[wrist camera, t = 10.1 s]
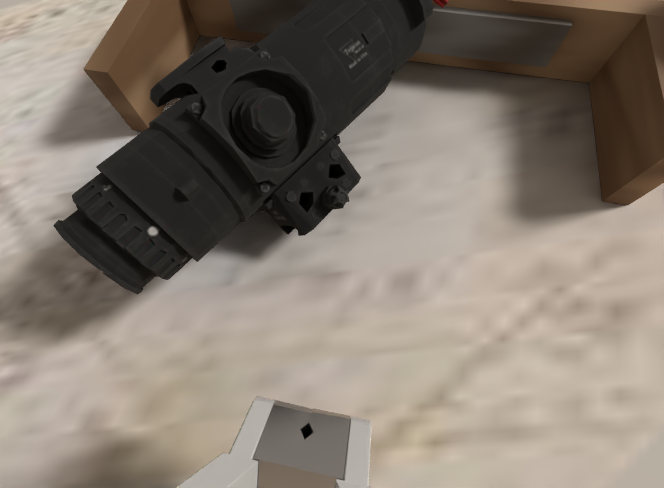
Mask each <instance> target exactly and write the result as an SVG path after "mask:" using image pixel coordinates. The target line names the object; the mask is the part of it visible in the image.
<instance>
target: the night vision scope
mask: <svg viewBox="0 0 664 488" xmlns="http://www.w3.org/2000/svg"><path fill="white" fill-rule="evenodd" d="M433 1H434V2H435V3H436V4H438V5H439V6H440V7H441V8H443V7H445V5H446V4H447V3H448V2H449V1H448V0H433ZM433 7H434V5H433V3H432V0H314V1H313V2H312V3H310V4H309V5H308V6H306V7H305V8H304V9H302V10H301V11H300V12H298V13H297V14H296V15H294V16H293V17H292V18H290V19H289V20H288V21H286V22H285V23H284V24H282V25H281V26H280V27H278V28H277V29H276V30H274V31H273V32H272V33H270V34H269V35H268V36H266V37H265V38H264V39H262V40H261V41H260V42H258V43H257V44H256V45H254V46H253V47H252V48H251V49H247V48H243V47H238V46H237V47H235V48H234V49H232V50H231V51H229V49H228V48H227V47H226V45H225V44H226V43H225V41H224V40H223V38H222V37H221V36H219V37H218V38H216V39H215V40H213V41H212V42H210V43H209V44H207V45H206V46H204V47H203V48H201V49H200V50H199V51H198V52H196V53H195V54H194V55H192V56H191V57H190V58H189V59H187V60H186V61H185V62H183V63H182V64H181V65H180V66H178V67H177V68H176V69H175V70H173V71H172V72H171V73H169V74H168V75H167V76H166V77H164V78H163V79H162V80H160V81H159V82H158V83H157V84H156V85H155V86H154V87H153V88H152V89H151V90H150V100H151V101H152V102H153V103H154V104H155V105H156V106H157V107H160V106H162V105H164V104H166V103H167V102H169V101H171V100H172V99H175V98H181V99H180V100H179V101H178V102H176V103H175V104H174V105H172V106H171V107H170V108H168V109H167V110H166V111H164V112H163V113H162V114H160V115H159V116H158V117H156V118H155V119H154V120H152V121H151V122H150V123H149V128H147V129H146V130H145V131H143V132H142V133H141V134H139V135H138V136H137V137H135V138H134V139H133V140H131V141H130V142H129V143H127V144H126V145H125V146H123V147H122V148H121V149H119V150H118V151H117V152H115V153H114V154H113V155H111V156H110V157H109V158H107V159H106V160H105V161H103V162H102V163H101V164H99V165H98V166H97V167H96V168H97V169H98V170H99V171H100V172H101V173H100V174H99V175H97V176H96V177H95V178H94V179H92V180H91V181H90V182H88V183H87V184H86V185H84V186H83V187H82V188H81V189H79V190H78V191H77V192H75V193H74V194H73V195H72V198H73V201H74V203H75V204H76V207H77V208H78V210H77V211H76V212H74V213H73V214H72V215H70V216H69V217H68V218H66V219H65V220H64V221H60V220H58V221H57V222H56V223H55V224H54V225H53V226H54V227H55V228H56V230H57V231H58V232H59V234H60V235H61V236H62V238H63V239H64V240H65V241H66V242H67V243H68V244H69V245H70V246H71V247H72V248H74V249H75V250H76V251H77V252H78V253H79V254H80V255H81V256H82V257H84V258H85V259H86V260H88V261H89V262H90V263H91V264H93V265H94V266H95V267H97V268H98V269H99V270H102V271H104V272H103V274H104V275H106V276H107V277H109V278H110V279H112V280H113V281H115V282H116V283H118V284H119V285H121V286H122V287H123V288H125V289H127V290H130V291H132V292H134V293H136V294H139V293H140V292H141V291H142V289H143V287H144V286H145V285H146V284H147V283H148V282H149V281H151V280H152V279H153V278H154V277H155V276H158V277H161V278H162V279H166V280H168V279H170V278H171V277H172V276H173V275H174V274H175V273H176V272H178V271H179V270H180V269H181V268H182V267H183V266H184V265H185V264H186V263H187V262H188V261H189V260H190V259H192V258H194V259H195V260H196V261H197V262H198V261H199V260H200V259H201V258H202V257H203V256H204V255H205V254H206V253H208V252H209V251H210V250H211V249H212V248H213V247H214V246H215V245H216V244H217V243H218V242H219V241H220V240H221V239H222V238H224V237H225V236H226V235H227V234H228V233H229V232H230V231H231V230H232V229H233V228H234V227H235V226H236V225H237V224H238V223H240V222H245V221H246V220H248V219H249V218H250V217H251V216H252V215H253V214H254V213H255V212H256V211H257V210H267V211H268V212H269V214H270V215H271V216H272V217H273V218H274V219H275V221H276V222H277V223H278V224H279V225H280V227H281V228H282V229H283V230H284V231H285V232H286V234H289V233H290V232H291V231H292V230H293V229H294V228H296V229H297V230H298V235H299V236H300V235H306V234H307V233H309V232H310V231H311V230H313V229H314V228H315V227H316V226H317V225H318V224H319V223H320V222H321V221H322V220H323V219H324V218H325V217H326V216H327V215H328V214H329V213H330V212H331V210H332V209H340V208H343V207H344V204H345V203H346V202H349V197H348V193H349V192H350V191H351V190H352V189H353V188H354V187H355V186H356V185H357V184H358V183H359V180H360V178H361V177H360V175H359V174H358V173H357V171H356V170H355V168H354V167H353V166H352V164H351V163H350V161H349V160H348V159H347V157H346V156H345V154H344V153H343V152H342V150H341V149H340V147H339V146H338V144H339V143H340V138H339V136H337V135H338V134H339V133H341V132H342V131H343V130H344V129H345V128H346V127H347V126H348V125H349V124H350V123H351V122H352V121H353V120H354V119H355V118H357V117H358V116H359V115H360V114H361V113H362V112H363V111H364V110H365V109H366V108H367V107H368V106H369V105H370V104H371V103H373V102H374V101H375V100H376V99H377V98H378V97H379V96H380V95H381V94H382V93H383V92H384V91H385V89H386V87H387V86H388V84H389V82H390V81H391V75H393V74H394V73H395V72H396V71H397V70H398V69H399V68H400V67H401V66H402V65H403V64H404V63H406V62H407V61H408V60H409V59H410V58H411V57H412V56H413V55H414V54H415V53H416V52H417V51H418V49H419V48H420V46H421V44H422V40H423V37H424V33H425V28H426V19H427V18H428V17H429V16H430V15H431V14H433Z"/></svg>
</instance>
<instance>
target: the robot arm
mask: <svg viewBox="0 0 664 488" xmlns="http://www.w3.org/2000/svg"><path fill="white" fill-rule="evenodd" d="M371 426H372V424H371V421H370V420H366V419H361V418H356V417H352V416H348V415H343V414H338V413H333V412H328V411H323V410H318V409H310V408H306V407H302V406H298V405H294V404H290V403H285V402H281V401H277V400H272V399H268V398H264V397H259V396H257V397H256V398H255V399H254V401H253V402H252V405H251V407H250V409H249V411H248V413H247V415H246V418H245V420H244V422H243V424H242V426H241V428H240V431H239V433H238V435H237V437H236V439H235V441H234V444H233V446H232V448H231V450H230V452H229V454H227V453H222V454H220V455H219V456H218V457H216V458H215V459H214V460H212V461H211V462H210V463H208V464H207V465H206V466H204V467H203V468H202V469H200V470H199V471H198V472H196V473H195V474H194V475H192V476H191V477H190V478H188V479H187V480H186V481H184V482H183V483H182V484H180V485H179V486H177V487H176V488H373V487H369V486H368V484H369V465H370V445H371Z"/></svg>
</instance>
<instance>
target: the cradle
mask: <svg viewBox="0 0 664 488" xmlns="http://www.w3.org/2000/svg"><path fill="white" fill-rule="evenodd" d="M313 1H314V0H128V1H127V2H126V4H125V5H124V7H123V8H122V10H121V11H120V13H119V15H118V16H117V18H116V19H115V21H114V22H113V24H112V25H111V27H110V29H109V30H108V32H107V33H106V35H105V36H104V38H103V39H102V41H101V43H100V44H99V46H98V47H97V49H96V50H95V52H94V53H93V55H92V57H91V58H90V60H89V61H88V63H87V64H86V66H85V67H84V71H85V72H86V73H87V74H88V75H89V77H90V78H91V79H92V80H93V82H94V83H95V84H96V85H97V87H98V88H99V89H100V90H101V92H102V93H103V94H104V95H105V97H106V98H107V99H108V100H109V102H110V103H111V104H112V105H113V107H114V108H115V109H116V110H117V111H118V113H119V114H120V115H121V116H122V118H123V119H124V120H125V121H126V123H127V124H128V125H129V126H130V128H131V129H133V130H139V131H145V130H146V129H147V128H149V123H150V122H151V121H152V120H154V119H155V118H156V117H158V116H159V115H160V114H161V113H162V111H163V109H164V107H165V105H166V104H164V105H162V106H160V107H157V106H156V105H155V104H154V103H153V102H152V101H151V100H150V90H151V89H152V88H153V87H154V86H155V85H156V84H157V83H158V82H159V81H160V80H162V79H163V78H164V77H166V76H167V75H168V74H169V73H171V72H172V71H173V70H175V69H176V68H177V67H178V66H180V65H181V64H182V63H183V62H185V61H186V60H187V59H188V58H189V56H190V54H191V52H192V50H193V48H194V46H195V44H196V42H197V40H198V38H199V36H200V35H203V36H211V37H219V36H221V37H222V38H227V39H236V40H244V41H252V42H260V41H261V40H262V39H264V38H265V37H266V36H268V35H269V34H270V33H272V32H273V31H274V30H276V29H277V28H278V27H280V26H281V25H282V24H284V23H285V22H286V21H288V20H289V19H290V18H292V17H293V16H294V15H296V14H297V13H298V12H300V11H301V10H302V9H304V8H305V7H306V6H308V5H309V4H310V3H312V2H313ZM448 1H449V2H448V3H447V4H446V5H445V7H443V8H441V7H440V6H439V5H438V4H436V3H435V2H434V1H433V0H432V3H433V5H434V7H433V14H431V15H430V16H429V17H428V18H427V19H426V28H425V33H424V37H423V40H422V44H421V46H420V48H419V49H418V51H417V52H416V53H415V54H414V55H413V56H412V57H411V58H410V59H409V60H408V61H415V62H423V63H431V64H439V65H447V66H456V67H464V68H472V69H480V70H488V71H496V72H504V73H513V74H521V75H529V76H537V77H545V78H553V79H561V80H570V81H578V82H586V83H589V86H590V94H591V103H592V112H593V121H594V130H595V139H596V148H597V157H598V166H599V175H600V184H601V193H602V201H604V202H611V203H617V204H624V205H629V204H631V203H632V202H634V201H635V200H637V199H639V198H640V197H642V196H643V195H645V194H647V193H648V192H650V191H651V190H653V189H654V188H656V187H658V186H659V185H661V184H662V183H664V0H448Z"/></svg>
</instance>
